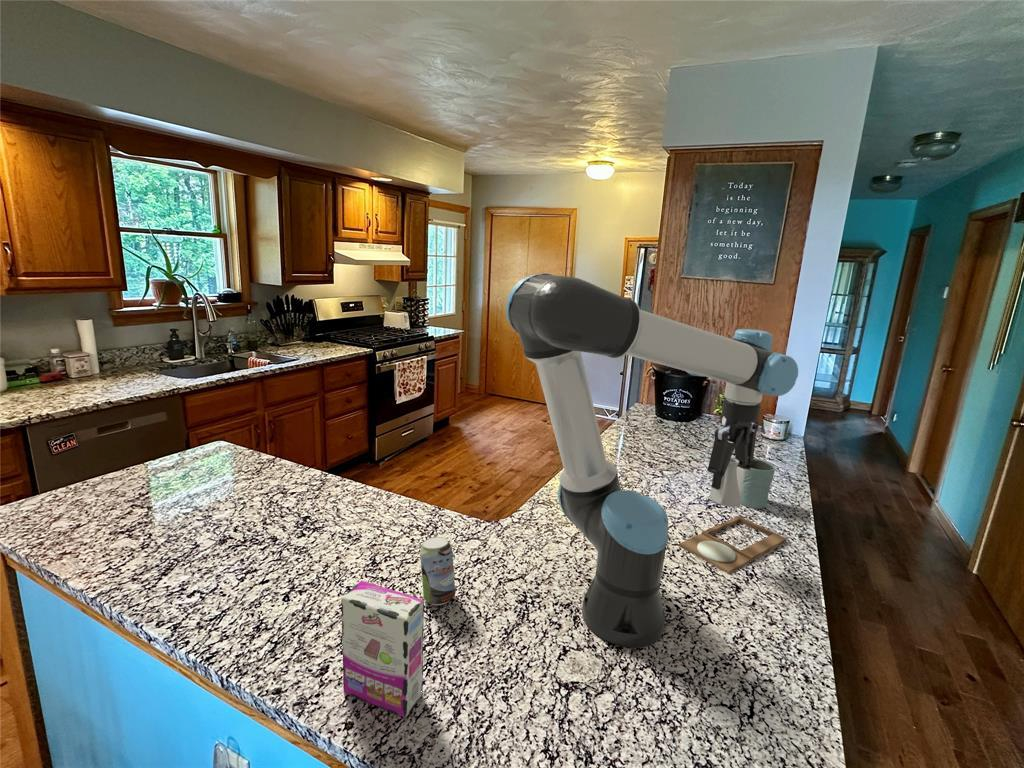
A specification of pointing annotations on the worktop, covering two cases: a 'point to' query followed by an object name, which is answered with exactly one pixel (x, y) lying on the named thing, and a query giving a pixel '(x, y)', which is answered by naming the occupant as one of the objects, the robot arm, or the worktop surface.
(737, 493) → the flask
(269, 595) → the worktop surface
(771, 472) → the green cup
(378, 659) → the candy bar box
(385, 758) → the worktop surface
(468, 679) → the worktop surface
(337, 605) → the worktop surface
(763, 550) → the board
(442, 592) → the beverage can
